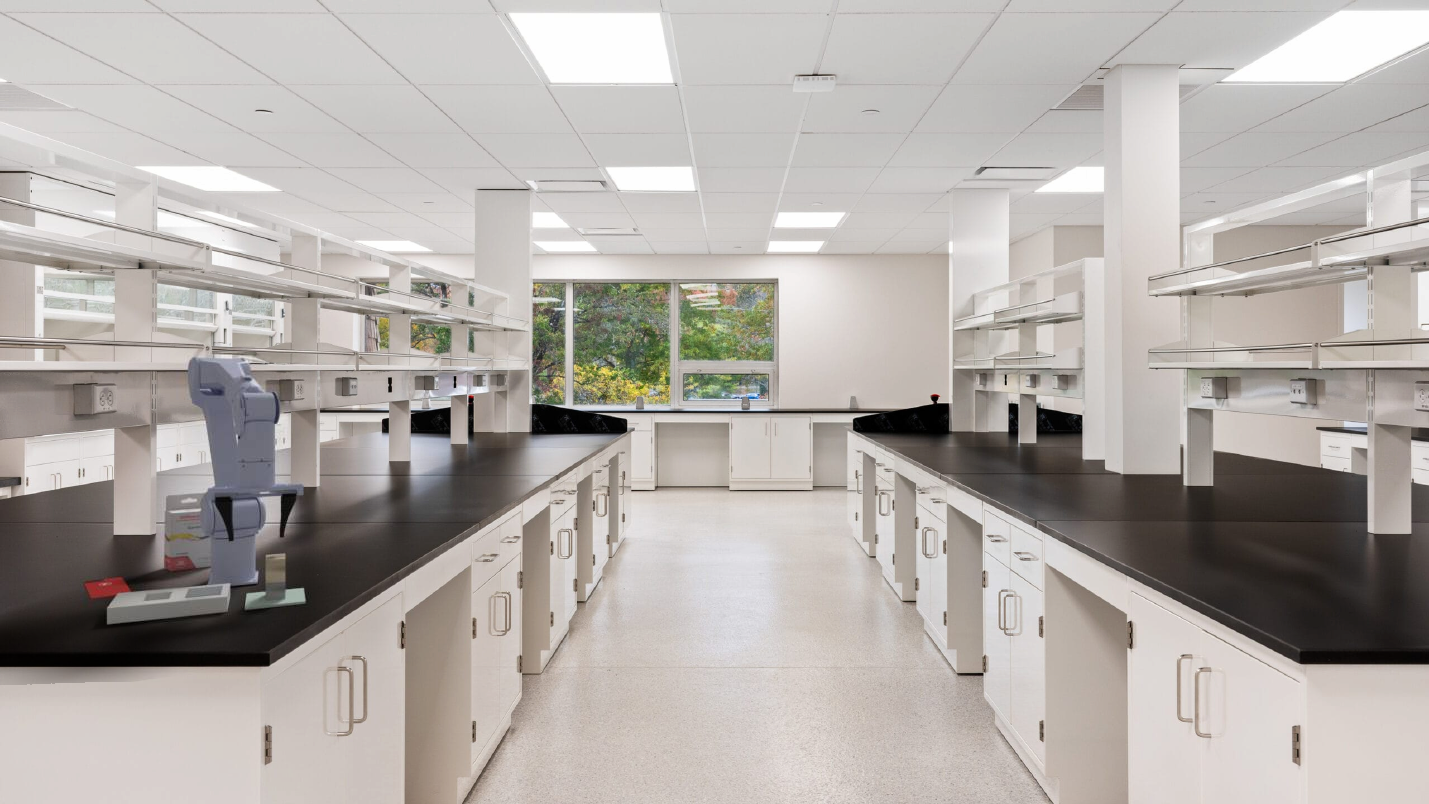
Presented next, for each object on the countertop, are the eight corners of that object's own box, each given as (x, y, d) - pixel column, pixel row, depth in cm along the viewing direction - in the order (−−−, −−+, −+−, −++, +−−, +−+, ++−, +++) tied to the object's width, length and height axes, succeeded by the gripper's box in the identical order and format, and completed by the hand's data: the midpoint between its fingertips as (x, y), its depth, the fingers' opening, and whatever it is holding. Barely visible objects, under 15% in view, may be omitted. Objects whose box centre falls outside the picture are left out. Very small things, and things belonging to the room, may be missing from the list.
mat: (246, 595, 143) (246, 593, 143) (303, 590, 148) (303, 587, 148) (244, 609, 135) (244, 607, 135) (305, 603, 139) (305, 601, 139)
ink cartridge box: (170, 572, 160) (170, 497, 160) (163, 568, 163) (163, 495, 163) (219, 565, 166) (219, 493, 166) (211, 561, 170) (211, 491, 169)
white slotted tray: (118, 608, 135) (118, 592, 135) (230, 597, 142) (230, 582, 142) (107, 624, 126) (107, 607, 126) (227, 611, 133) (227, 596, 133)
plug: (265, 594, 143) (265, 555, 143) (285, 592, 144) (285, 553, 144) (265, 600, 139) (265, 560, 139) (285, 598, 140) (285, 558, 140)
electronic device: (132, 595, 144) (121, 579, 155) (132, 592, 144) (121, 576, 155) (91, 601, 140) (83, 584, 151) (91, 598, 140) (83, 581, 151)
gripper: (205, 464, 135) (206, 546, 135) (303, 461, 142) (304, 538, 142) (209, 461, 141) (209, 539, 141) (302, 458, 148) (302, 532, 148)
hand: (256, 538), depth 142 cm, fingers open, 7 cm apart
